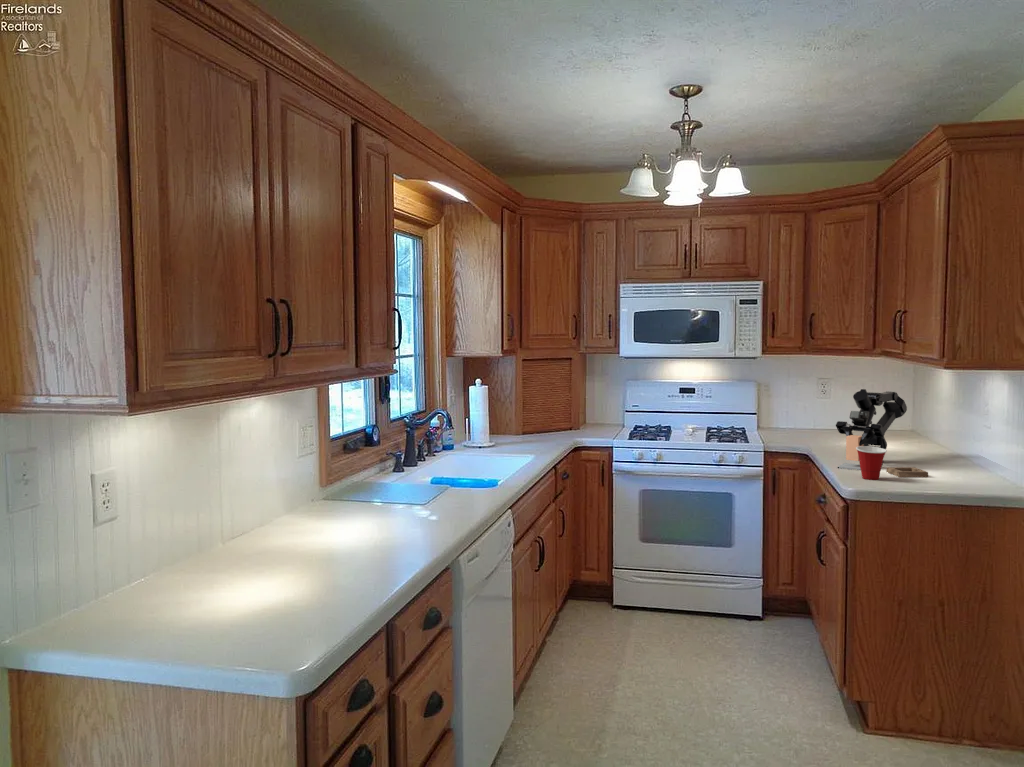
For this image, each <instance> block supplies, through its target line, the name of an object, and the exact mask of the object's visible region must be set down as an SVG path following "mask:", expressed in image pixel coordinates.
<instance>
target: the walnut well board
mask: <svg viewBox="0 0 1024 767" xmlns="http://www.w3.org/2000/svg"><path fill="white" fill-rule="evenodd" d="M885 471H886V473H887V472H888V474H890V475H892V474H893V475H892V476H894V477H897V476H898V478H929V471H926V470H923V469H920V468H918V467H915V466H913V467H912V466H910V467H909V466H904V467H902V466H897V467H895V466H891V467H890V466H889V467H888V466H887V467H886V470H885Z"/></svg>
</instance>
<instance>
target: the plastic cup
mask: <svg viewBox="0 0 1024 767" xmlns="http://www.w3.org/2000/svg"><path fill="white" fill-rule="evenodd" d="M856 449H857V451H858V456H859V461H858V462H859V464H860V469H861V470H860V471H861V472H860V474H861V477H862V479H863V480H867V481H868V480H869V481H872V480H873V481H876V480H879V479H880V475H881V471H882V467H883V463H884V462H883V460H884V458H885V455H886V453H887V452H888V451H887V448H886V449H883V448H879V447H871V446H859V447H856Z"/></svg>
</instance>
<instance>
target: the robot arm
mask: <svg viewBox="0 0 1024 767" xmlns="http://www.w3.org/2000/svg"><path fill="white" fill-rule="evenodd" d="M852 396H853V400H854V402H855V405H856V407H857V408H858V409H860V410H850V414H849V419H850V420H851V423H852V424H850V423H848V422H847V421H841V420H840V421H839V420H838V421H837V422H836V424H835V427H836V430H837V431H838V433H839V434H840V435H845V437H846V436H849V435H854V434H853V431H854V432H863V433H862V434H861V436H862V438H861V440H860V443H859V445H860V446H861V445H863V444H864V446H871V447H879V448H883V449H886V450H887V449H888V448H887V447H888V443H887V441H886V438H885V434H886V432H887V431H888V429H889V428H890V427H891V426H892V424H893V422H894V421H895V420H896V419H899V418H902V417H903V416H904V415H905V413H907V411H908V406H907V404H906V402H905V400H904V398H902V397H901V396H899V394H898V393H897V391H887V390H886V391H884V392H873V391H872V392H871V391H870V392H869V391H867V389H865V388H863V389H860V390H859V391H857V392H855V393H854V394H853V395H852ZM880 406H882V407H883V409H884V414H882V416H881V417H880V418H879V420H878V421H877V422H876V423H873V421H872V420H873V417H874V415H875V416H876V415H877V408H876V407H880ZM884 462H885V460H884V459H883V462H882V463H884Z"/></svg>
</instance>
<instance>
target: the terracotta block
mask: <svg viewBox="0 0 1024 767" xmlns="http://www.w3.org/2000/svg"><path fill="white" fill-rule="evenodd" d="M845 438H846V439H845V442H846V444H845V448H846V449H845V460H846V461H855V462H859V456H858V451H857V449H856V447H859V446H860V445H859V443H860V440H861V438H862V435H859V434H858V435H855V434H853V435H849V436H846V435H845ZM861 446H864V444H863V445H861Z"/></svg>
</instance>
